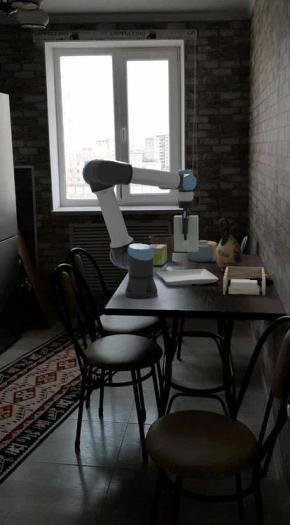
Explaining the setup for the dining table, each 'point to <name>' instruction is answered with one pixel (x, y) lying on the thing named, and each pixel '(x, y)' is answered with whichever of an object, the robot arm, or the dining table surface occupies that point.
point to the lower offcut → (243, 291)
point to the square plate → (187, 277)
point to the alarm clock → (204, 252)
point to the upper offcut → (243, 284)
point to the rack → (243, 275)
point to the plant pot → (164, 243)
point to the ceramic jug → (228, 247)
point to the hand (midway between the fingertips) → (186, 245)
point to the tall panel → (191, 234)
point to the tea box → (159, 257)
